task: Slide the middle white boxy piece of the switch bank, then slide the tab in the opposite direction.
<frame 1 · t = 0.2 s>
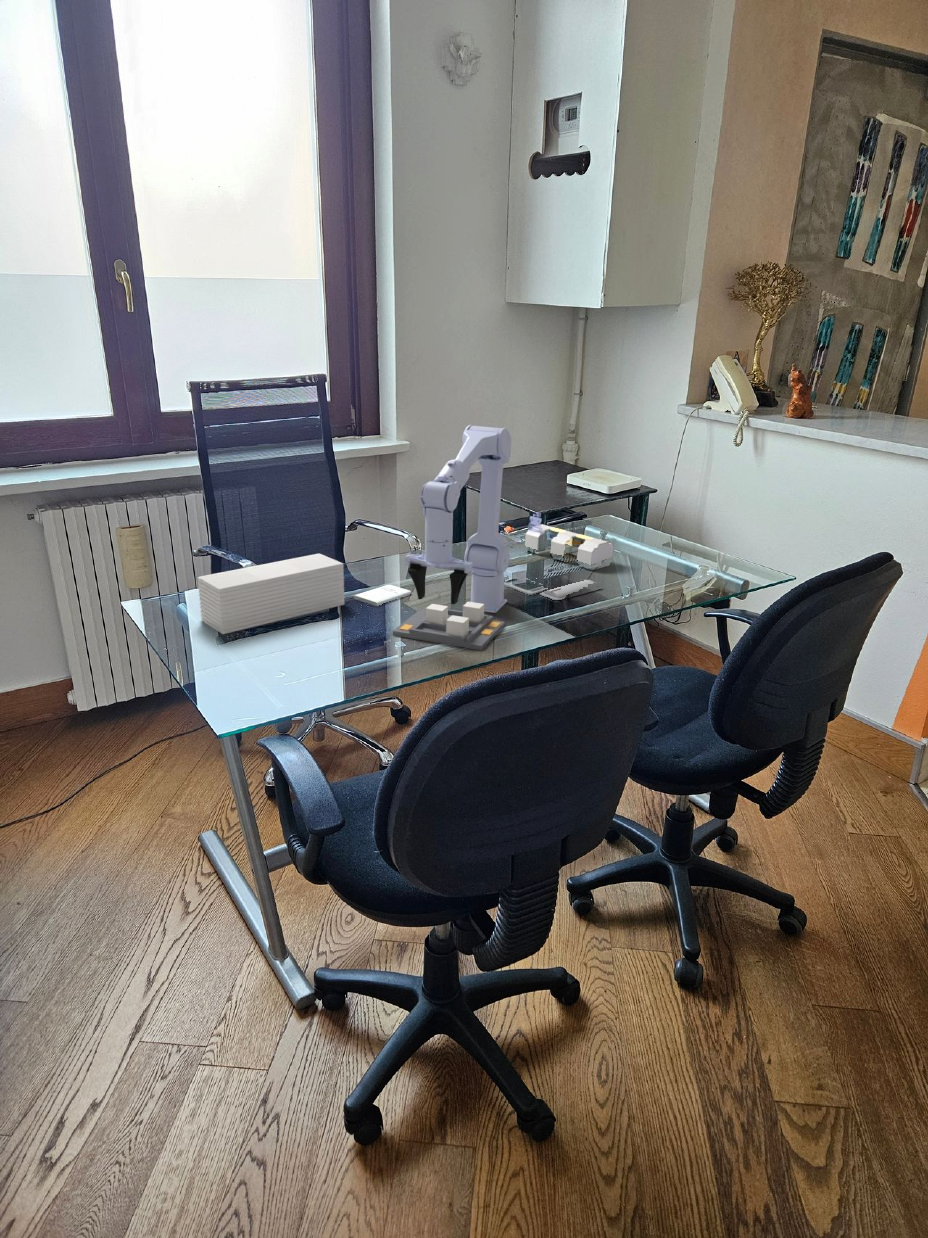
hand: (437, 600, 180), 10 cm above the table, fingers open, 7 cm apart
tab 3: (457, 627, 184), point 3 cm above the table, slide at 7.0 cm
external hard drive: (382, 599, 211), on the table
diorama: (567, 560, 247), on the table
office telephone: (545, 587, 223), on the table
white boxy piece 2: (436, 615, 190), point 3 cm above the table, slide at 0.0 cm
stack of papers: (275, 614, 199), on the table
switch bank: (449, 630, 190), on the table
white boxy piece 1: (473, 613, 192), point 3 cm above the table, slide at 7.0 cm
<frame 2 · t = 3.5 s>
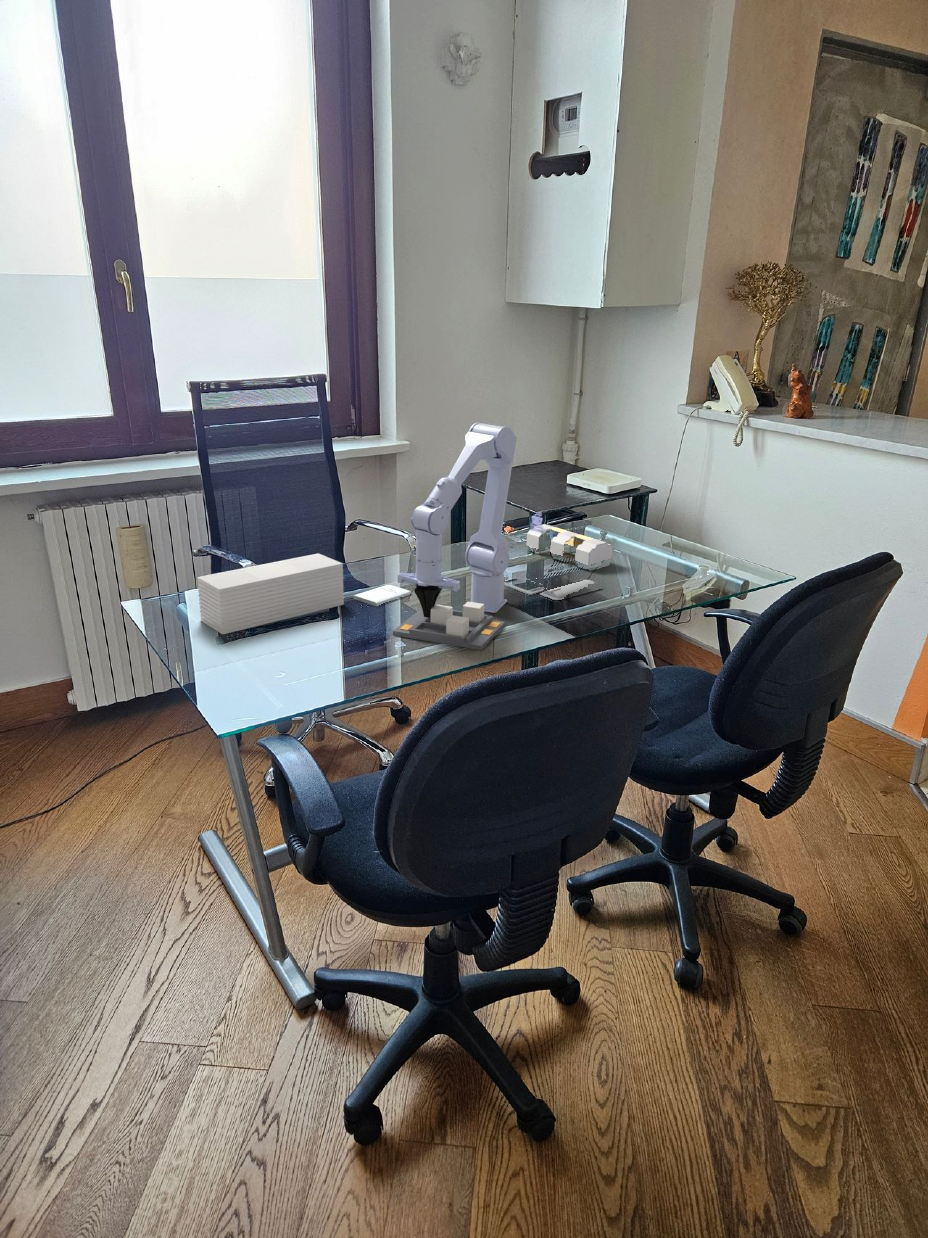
hand: (428, 616, 191), 3 cm above the table, fingers closed
white boxy piece 2: (441, 616, 190), point 3 cm above the table, slide at 1.2 cm, touching gripper
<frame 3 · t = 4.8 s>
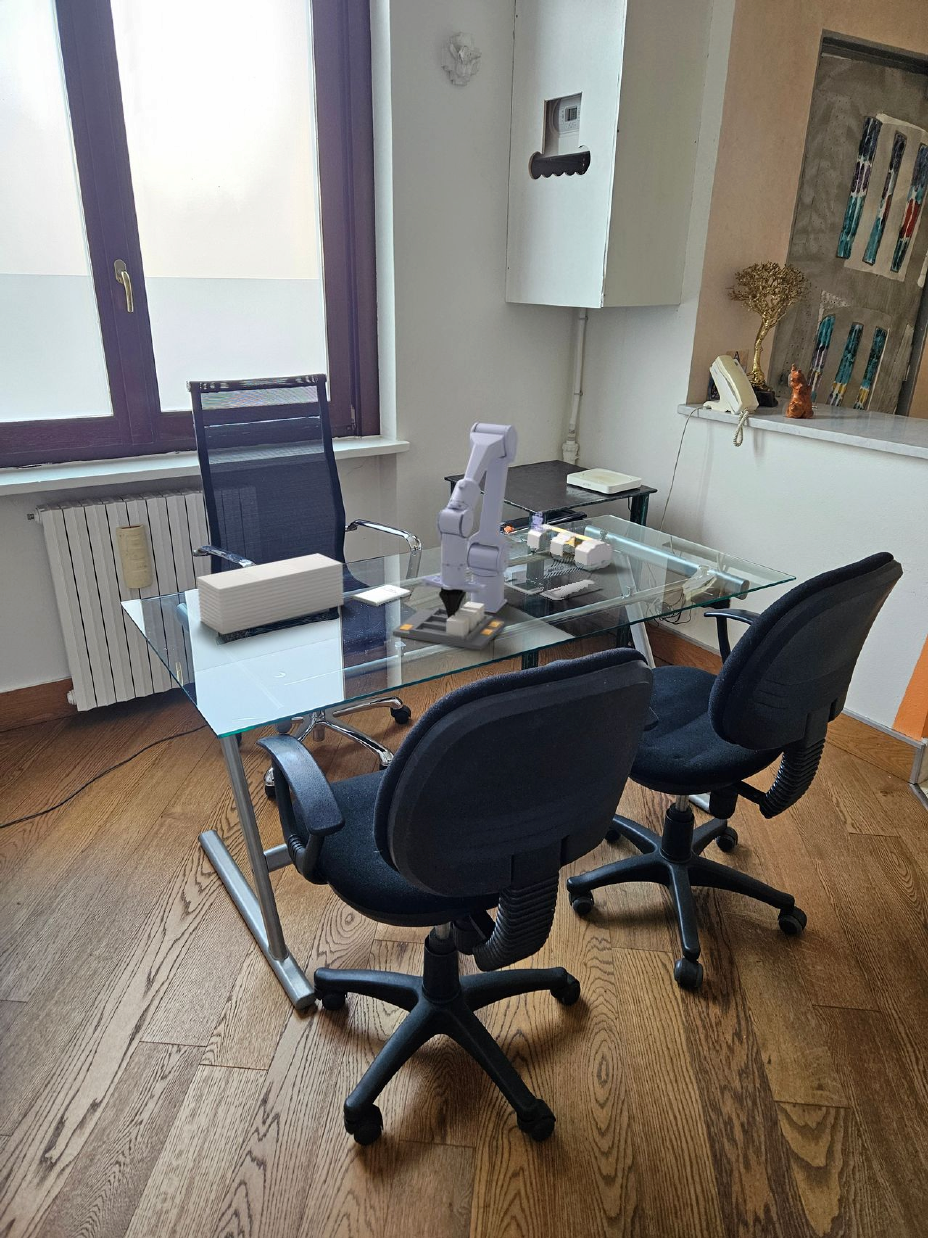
hand: (452, 620, 189), 3 cm above the table, fingers closed
white boxy piece 2: (465, 620, 188), point 3 cm above the table, slide at 7.1 cm, touching gripper
everything else where it was.
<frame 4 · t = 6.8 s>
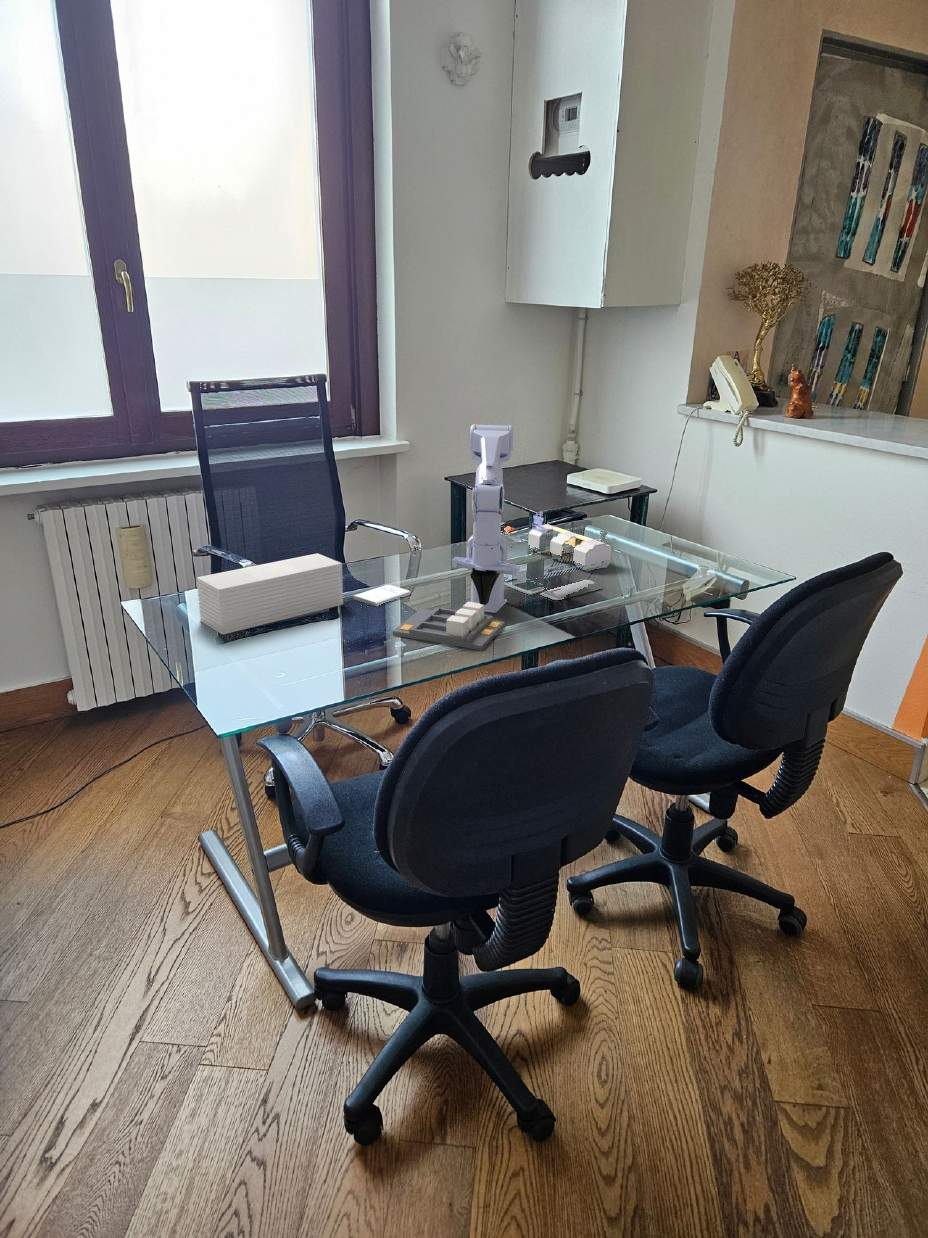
hand: (484, 603, 180), 10 cm above the table, fingers closed
white boxy piece 2: (465, 620, 188), point 3 cm above the table, slide at 7.1 cm
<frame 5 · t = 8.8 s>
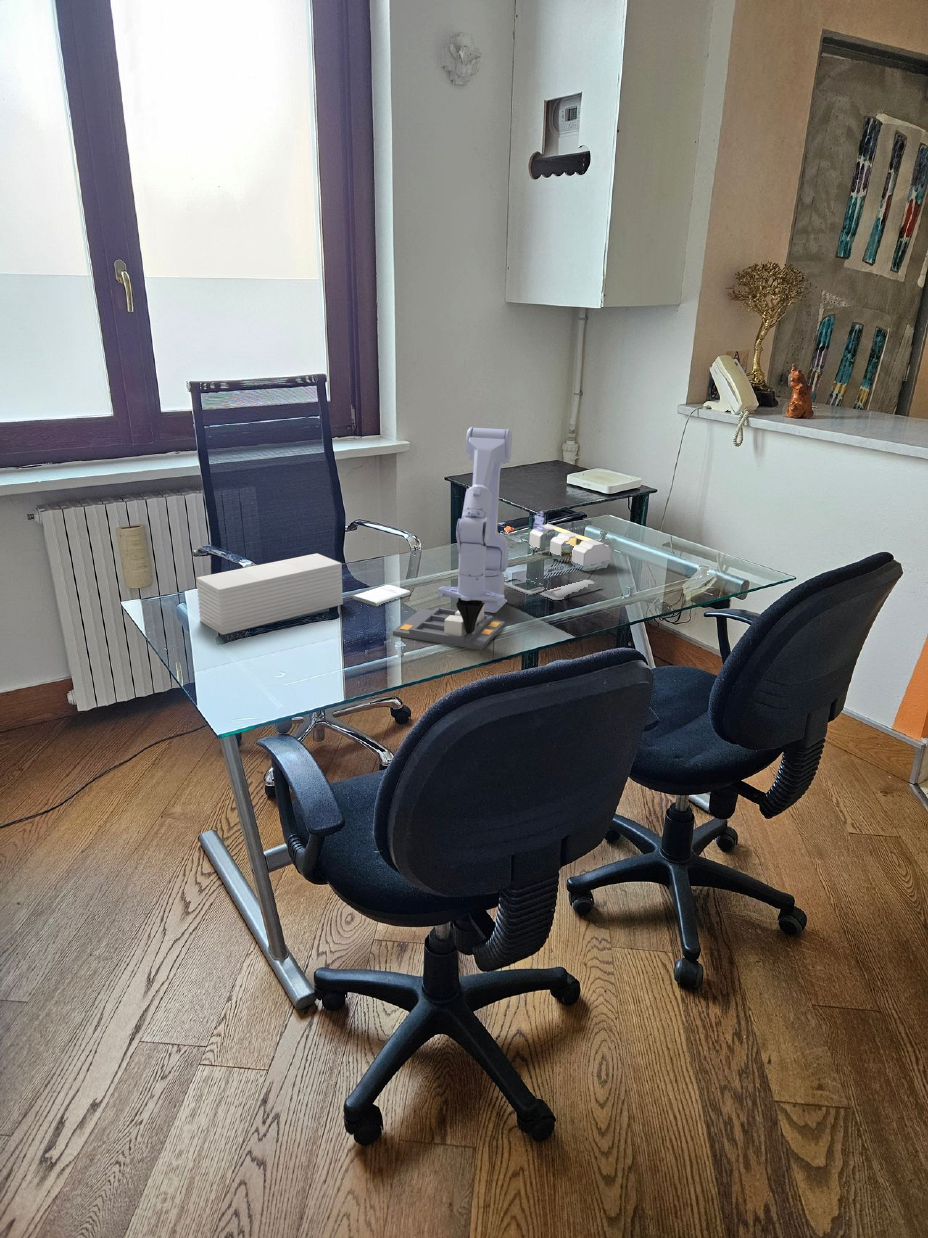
hand: (469, 631, 183), 3 cm above the table, fingers closed
tab 3: (455, 627, 184), point 3 cm above the table, slide at 6.6 cm, touching gripper
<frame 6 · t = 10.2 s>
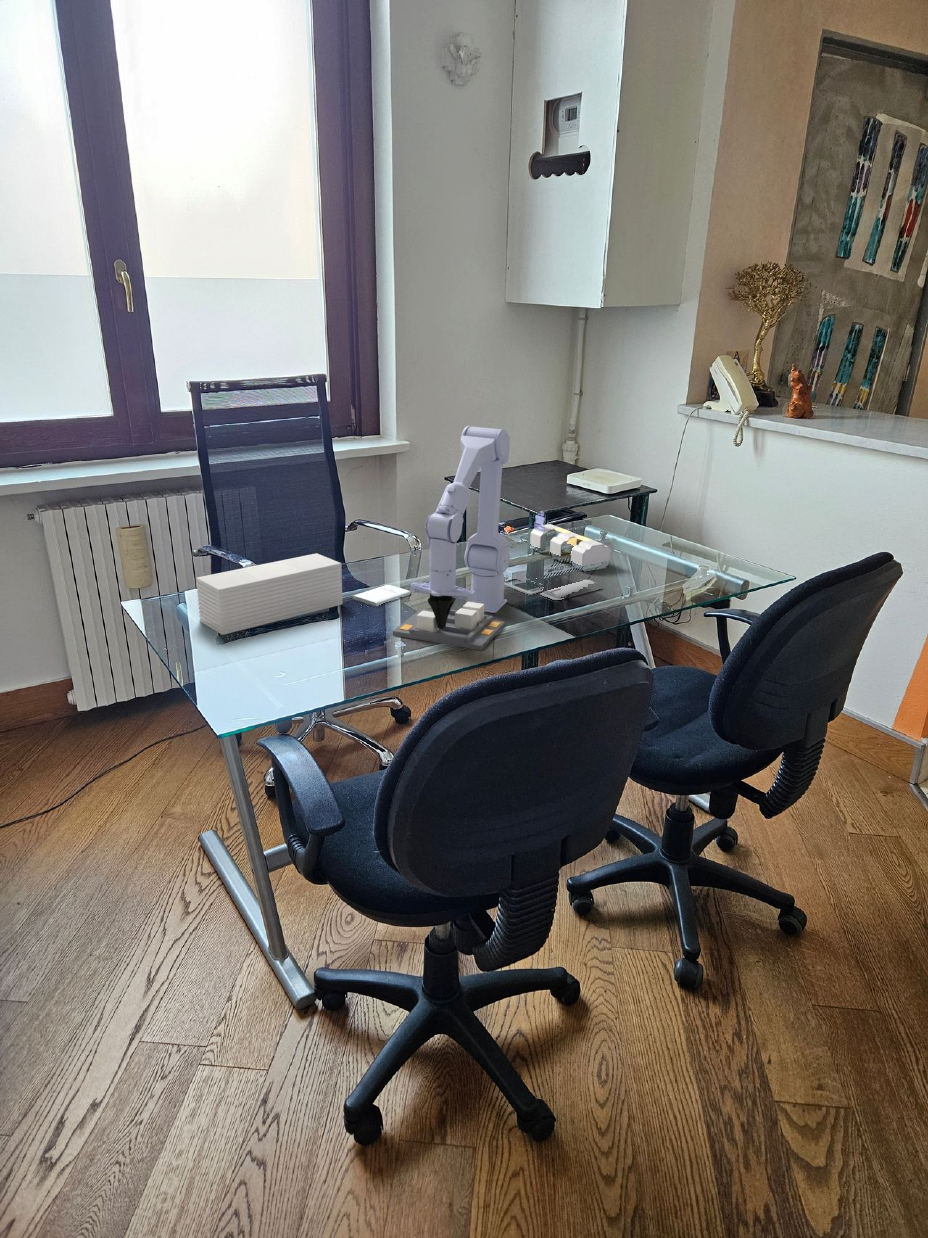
hand: (441, 627, 185), 3 cm above the table, fingers closed
tab 3: (428, 622, 186), point 3 cm above the table, slide at -0.1 cm, touching gripper
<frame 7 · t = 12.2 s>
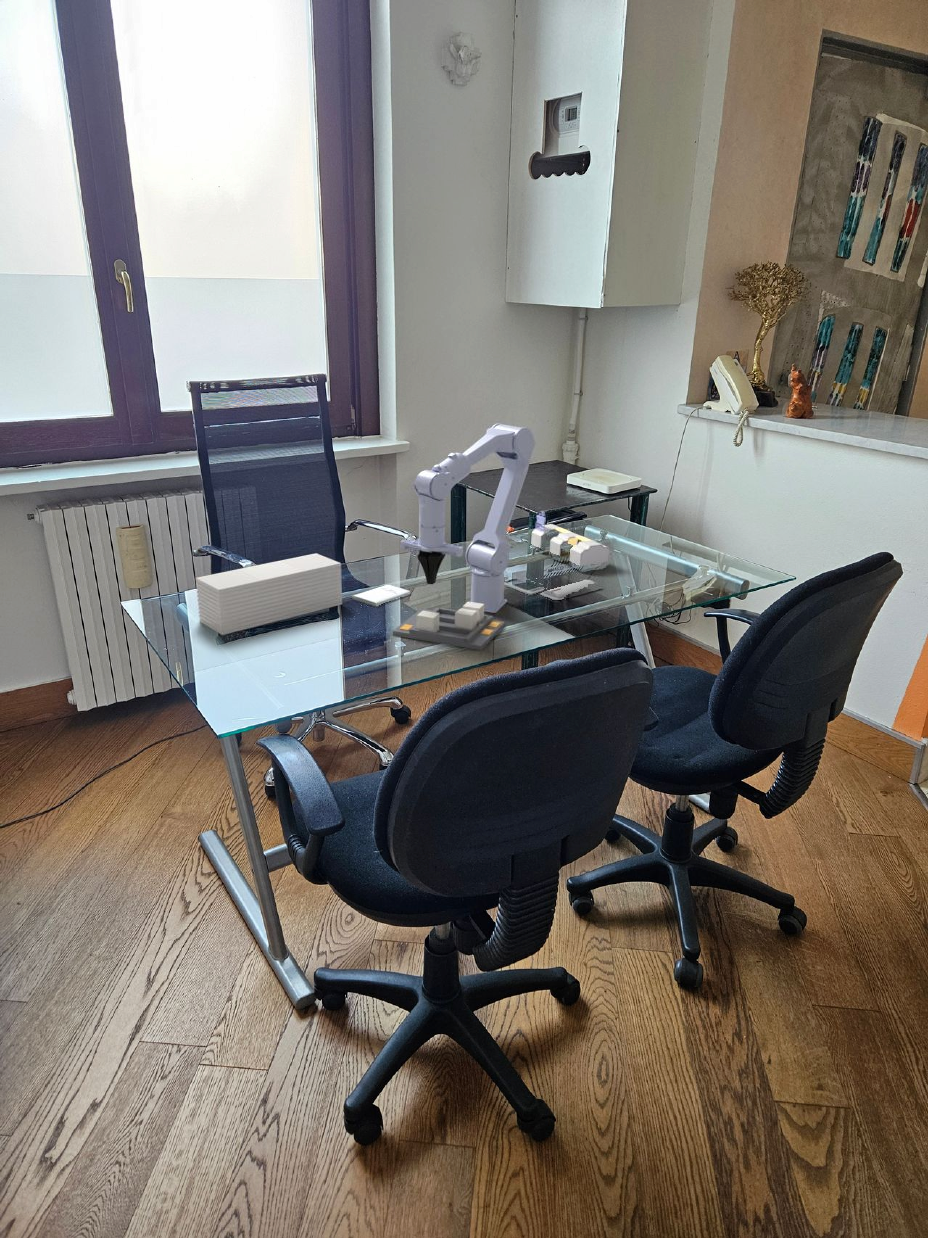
hand: (431, 582, 191), 10 cm above the table, fingers closed
tab 3: (428, 622, 186), point 3 cm above the table, slide at -0.1 cm
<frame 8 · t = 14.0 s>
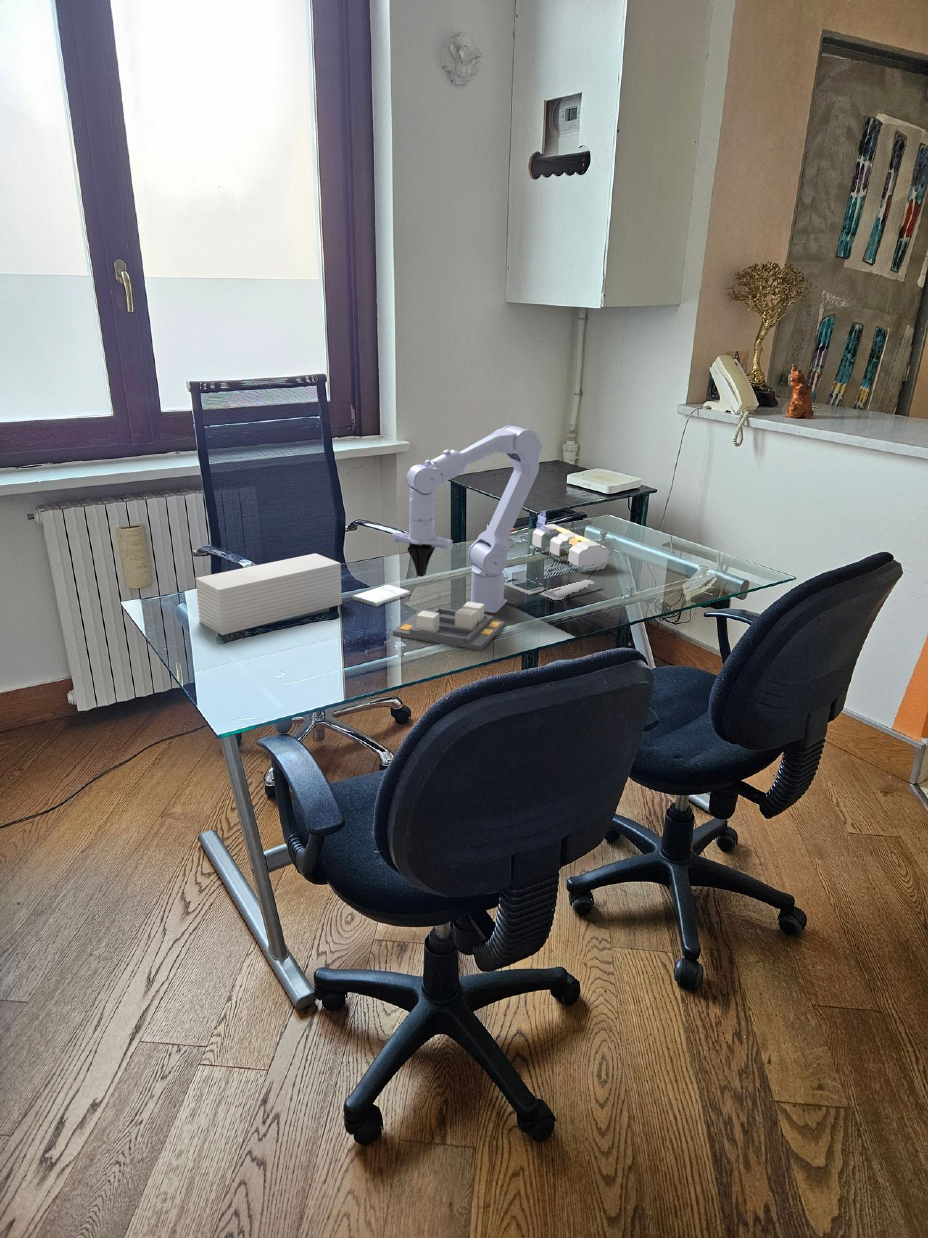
hand: (421, 575, 196), 10 cm above the table, fingers closed
at the end: white boxy piece 2 slide at 7.1 cm; tab 3 slide at -0.1 cm; white boxy piece 1 slide at 7.0 cm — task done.
